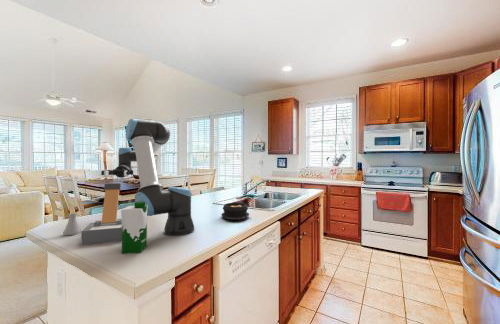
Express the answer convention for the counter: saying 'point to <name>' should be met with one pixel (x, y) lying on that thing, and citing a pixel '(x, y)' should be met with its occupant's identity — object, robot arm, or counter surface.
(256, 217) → the counter surface
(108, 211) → the lever
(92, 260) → the counter surface
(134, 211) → the milk carton
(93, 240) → the switch box
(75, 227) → the flask
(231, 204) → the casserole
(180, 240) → the counter surface
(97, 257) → the counter surface
